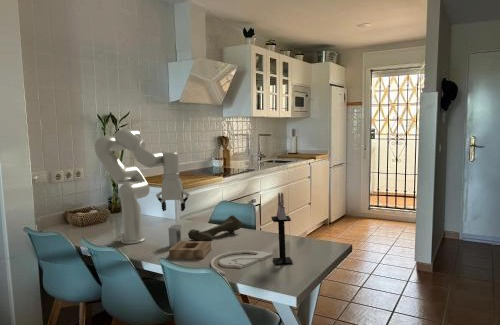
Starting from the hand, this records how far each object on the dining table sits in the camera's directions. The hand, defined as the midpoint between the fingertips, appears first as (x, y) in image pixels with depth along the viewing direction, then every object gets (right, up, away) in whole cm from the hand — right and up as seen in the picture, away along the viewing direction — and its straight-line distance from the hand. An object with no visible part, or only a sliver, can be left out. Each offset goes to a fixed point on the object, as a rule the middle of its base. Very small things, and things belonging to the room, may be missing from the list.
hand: (173, 210), depth 198 cm
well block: (+11, -19, -12) cm, 25 cm away
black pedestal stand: (+52, -19, -29) cm, 63 cm away
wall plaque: (+32, -20, -25) cm, 45 cm away
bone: (+20, -17, +16) cm, 31 cm away
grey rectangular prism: (+1, -18, +1) cm, 18 cm away
